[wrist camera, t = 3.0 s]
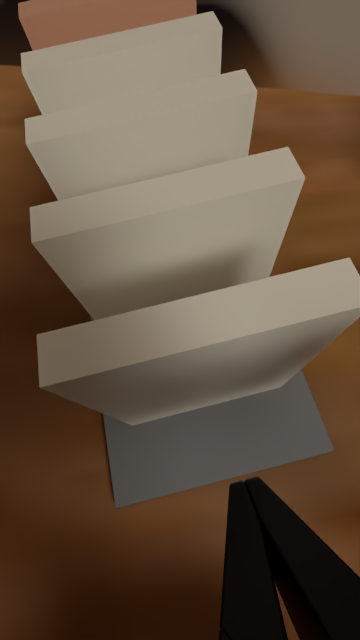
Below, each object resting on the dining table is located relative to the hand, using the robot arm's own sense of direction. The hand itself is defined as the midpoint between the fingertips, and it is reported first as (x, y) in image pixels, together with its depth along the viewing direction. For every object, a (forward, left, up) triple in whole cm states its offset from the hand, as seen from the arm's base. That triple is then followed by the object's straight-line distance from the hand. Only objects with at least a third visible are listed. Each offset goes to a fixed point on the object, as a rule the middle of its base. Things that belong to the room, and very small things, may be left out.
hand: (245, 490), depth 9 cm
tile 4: (+16, -11, -10) cm, 22 cm away
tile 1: (+4, -3, -10) cm, 11 cm away
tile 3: (+12, -8, -10) cm, 18 cm away
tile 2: (+8, -5, -10) cm, 14 cm away
